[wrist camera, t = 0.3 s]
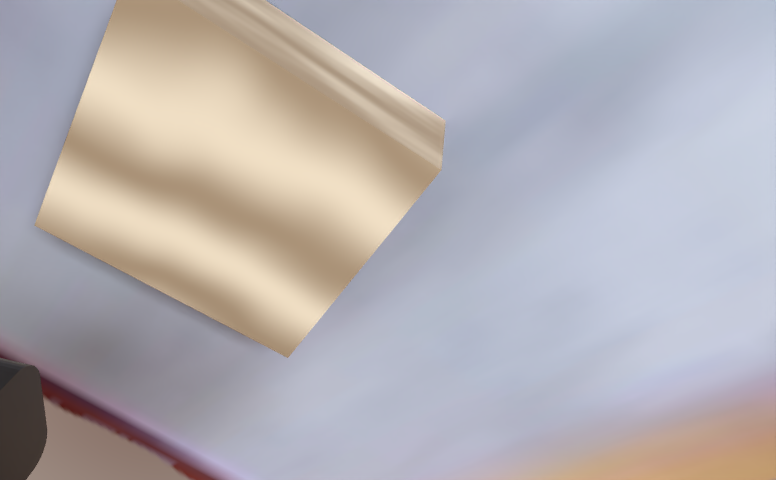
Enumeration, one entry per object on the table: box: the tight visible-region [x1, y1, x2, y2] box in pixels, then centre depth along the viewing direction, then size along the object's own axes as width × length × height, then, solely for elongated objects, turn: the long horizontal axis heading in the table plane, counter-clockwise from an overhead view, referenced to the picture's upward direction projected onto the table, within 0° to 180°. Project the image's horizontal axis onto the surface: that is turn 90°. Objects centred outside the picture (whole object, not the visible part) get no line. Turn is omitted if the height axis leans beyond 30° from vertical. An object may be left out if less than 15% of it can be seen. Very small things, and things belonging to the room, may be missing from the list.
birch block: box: [35, 0, 445, 358], centre depth 30 cm, size 14×14×5 cm
